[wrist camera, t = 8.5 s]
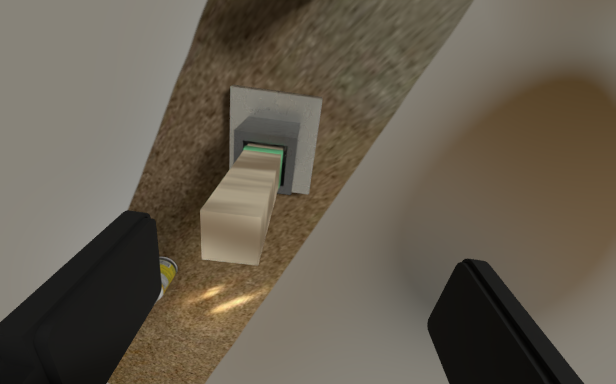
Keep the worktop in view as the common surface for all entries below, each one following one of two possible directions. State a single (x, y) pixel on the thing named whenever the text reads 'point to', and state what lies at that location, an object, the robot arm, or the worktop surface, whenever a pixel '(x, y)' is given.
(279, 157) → the column
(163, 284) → the supplement bottle
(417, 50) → the worktop surface
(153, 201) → the worktop surface
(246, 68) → the worktop surface
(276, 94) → the stand base
